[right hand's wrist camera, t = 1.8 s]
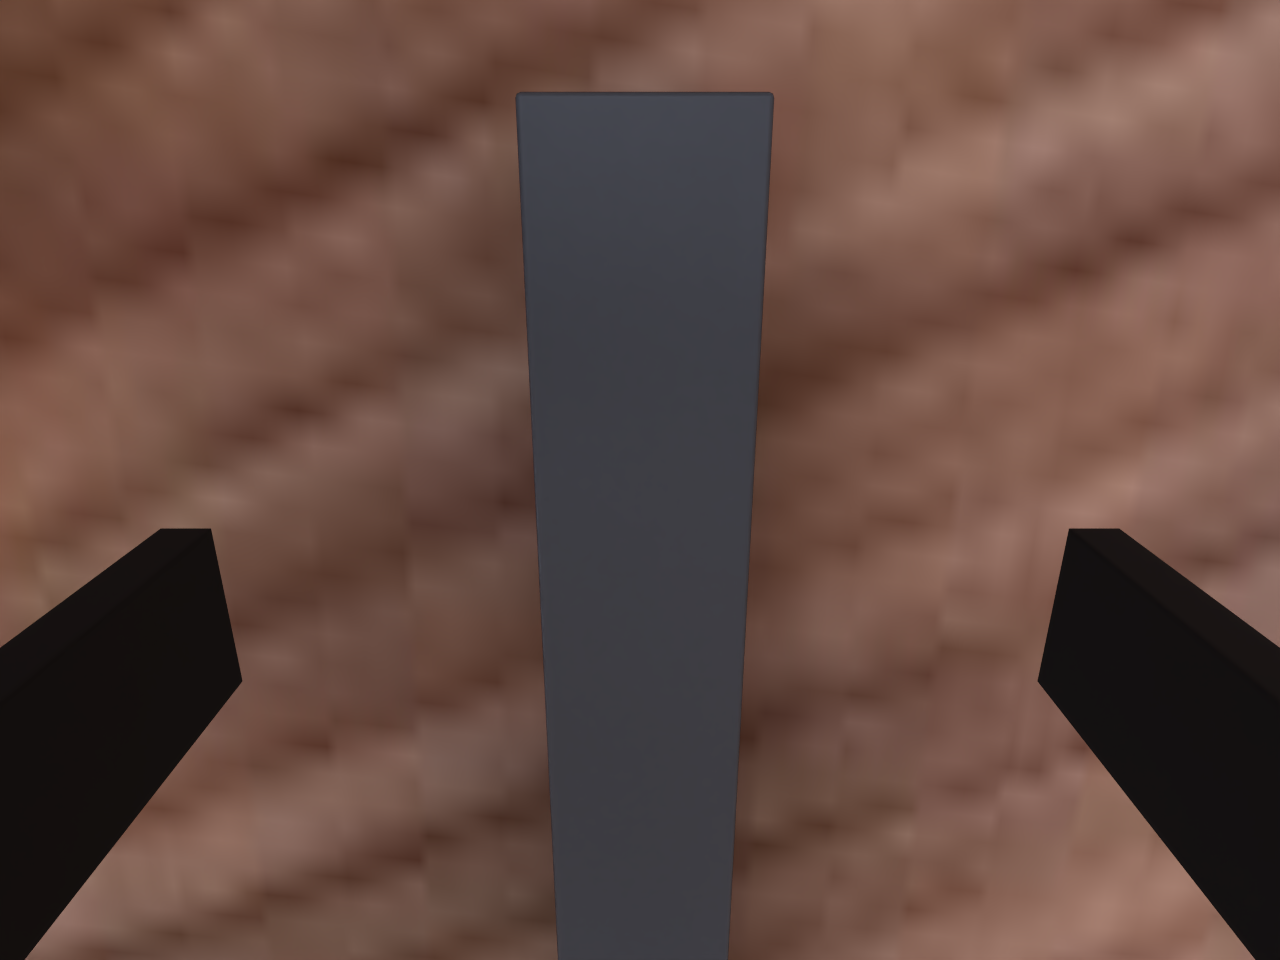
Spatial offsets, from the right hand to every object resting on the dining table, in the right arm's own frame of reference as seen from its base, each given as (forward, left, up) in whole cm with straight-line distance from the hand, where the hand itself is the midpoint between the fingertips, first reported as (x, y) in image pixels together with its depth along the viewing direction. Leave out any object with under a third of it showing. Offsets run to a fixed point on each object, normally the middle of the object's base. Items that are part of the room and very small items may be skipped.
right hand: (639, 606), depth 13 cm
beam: (+6, -19, -14) cm, 24 cm away
